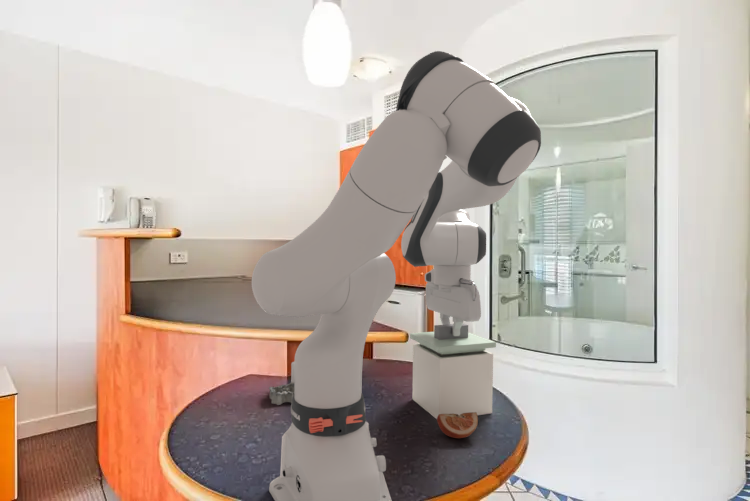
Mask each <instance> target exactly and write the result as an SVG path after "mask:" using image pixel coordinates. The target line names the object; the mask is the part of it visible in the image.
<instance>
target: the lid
mask: <svg viewBox="0 0 750 501" xmlns="http://www.w3.org/2000/svg"><path fill="white" fill-rule="evenodd" d="M453 324H454V323H450V324H448V325H442V324H435V325H433V326H434V330H433V331H423V332H410V333H409V338H410V339H412V340H413V341H414V342H417V343H418V344H422V345H424V346H426V347H428V348H430V349H432V350H434V351H436V352H438V353H440V354H442V355H443V354H453V353H464V352H474V351H485V350H486V349H493V348H495V349H496V348H497V342H496V341H494V340H491V339H489V338H485V337H483V336H480V335H477V334H475V333H472V332H469V324H465V323H463V324H462V326H461V328H460V335H459V336H453V335H451V328H452V327H453Z"/></svg>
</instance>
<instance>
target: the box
mask: <svg viewBox="0 0 750 501" xmlns="http://www.w3.org/2000/svg"><path fill="white" fill-rule="evenodd" d="M493 375H494V353H493V352H490V351H488V350H486V349H485V351H474V352H464V353H453V354H443V355H442V354H440V353H438V352H436V351H434V350H432V349H430V348H428V347H426V346H424V345H422V344H420V343H412V398H411V399H412V400H413V402H415V403H416V404H418V405H419V406H420V408H422V409H424V410H425V411H426V412H427V413H429V414H430V415H431V416H432V417H433V418H435V419H436V420H437V417H438V415H439V414H453V413H454V414H458V415H460V414H463V413H470V412H477V416H481V415H489V414H493V389H494V387H493V384H494V376H493Z"/></svg>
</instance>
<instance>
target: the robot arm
mask: <svg viewBox="0 0 750 501" xmlns="http://www.w3.org/2000/svg"><path fill="white" fill-rule="evenodd" d="M396 103H397V104H396V110H395V111H393V112H391V113H389V114H388V115H387V116H386V117H385V118H384V119H383V120H382V121H381V123H380V124H379V125H378V126H377V128H375V130H374V131H373V133H372V134H371V136H370V137H369V138H368V139H367V141H366V143H364V145H363V147H362V148H361V150H360V151H359V153H358V154H357V156H356V158H355V159H354V161H353V163H352V165H351V167H350V169H349V170H348V172H347V174H346V175H345V178H344V180H343V182H342V183H341V185H340V186H339V188H338V190H337V192H336V193H335V195H334V197H333V199H332V200H331V201H330V203H329V204H328V206H327V208H326V209H325V210H324V212H323V213H322V214H321V215H320V216H319V217H318V218H317V219H316V220H314V222H313V223H311V224H310V225H309V226H308V227H307V228H306V229H304V230H303V231H302V232H301V233H299V234H298V235H296V237H294V238H293V239H291V240H290V241H287V243H285V244H283V245H281V246H279V247H276V248H274V249H271V250H269V251H266V252H265V253H263V254H262V255H261V257H259V259H258V261H257V262H256V264H255V266H254V268H253V271H252V275H251V290H252V294H253V297H254V299H255V301H256V303H257V305H259V307H260V309H261V310H263V311H264V312H265V313H266V314H268V315H270V316H278V317H279V316H280V317H289V318H305V317H311V316H319V315H320V318H319V321H318V323H317V325H316V327H315V328H314V330H313V331H312V332H311V334H309V335H308V336H307V337H305V338H304V339H303V340H302V341H301V342H300V344H299V345H298V346H297V349H296V351H295V354H294V361H295V380H294V396H293V397H292V403H290V404H291V405H290V416H291V417H290V420H291V424H290V426H289V428H288V429H287V430H286V431H285V432H284V433H283V435H282V437H281V448H280V449H281V450H280V469H279V470H280V471H279V474H280V475H279V476H277V477H276V478H274V479H273V480H271V482H270V483H269V488H268V491H269V493H270V495H271V497H272V498H273V500H274V501H393V500H392V497H391V494H390V491H389V487H388V485H387V481H386V479H385V475H384V472H386V470H387V461H386V456H385V455H383V454H382V455H376V454H375V449H374V448H376V447H377V445H378V444H377V438H376V437H372V436H371V433H370V428H369V427H370V426H369V425H370V424H369V422H368V421H367V417H366V410H367V409H366V404H365V397H364V396H365V395H364V394H363V393H362V382H363V381H362V379H363V360H364V358H363V357H364V351H365V345H366V341H367V338H368V337H367V336H368V334H369V331H370V328H371V325H372V323H373V321H374V319H375V317H376V315H377V313H378V312H379V310H380V309H381V307H382V306H383V305H384V303H386V301H388V300H389V299H390V297H391V295H392V294H393V292H394V290H395V286H396V279H397V276H396V270H395V266H394V264H393V261H392V259H391V258H390V257H389V256H388V255H387V254H386V253H387V252H388V251H389V250H391V248H392V247H393V246H394V245H395V243H396V242H397V240H398V239H399V237H400V236H401V234H402V237H401V243H400V246H401V247H400V248H401V254H402V257H403V258H404V260H405V261H407V262H408V263H409V264H410V265H411V266H412V267H415V268H416V267H428V266H433V268H432V269H431V270H430V271H428V272H426V273H425V274H424V281H425V282H426V284H425V305H426V307H427V309H428V310H430V311H431V312H432V311H433V312H437V313H439V318H440V322H441V325H448V324H451V321H450V318H452V322H453V323H452V324H453V327H452V328H451V335H453V336H459V335H460V328H461V326H462V324H464V322H466V323H470V322H471V323H472V322H479V321H480V319H481V316H482V308H481V307H482V306H481V295H480V292H479V290H478V287H477V285H476V284H475V281H474V280H472V279H471V274H472V273H471V269H472V268H471V267H472V265H477V264H478V263H479V262H481V261H482V260H483V259H484V258H485V256H486V255H487V233H486V231H485V230H484V229H483V227H481V226H480V225H479V224H478V223H473V222H472V221H471V220H470V214H469V212H468V211H467V209H472V208H473V209H474V208H481V207H485V206H488V205H489V206H490V205H492V204H495V203H497V202H498V201H500V200H501V199H503V198H504V197H505V196H506V195H507V194H508V193H509V191H510V190H511V189H512V188H513V187H514V184H515V183H516V180H517V178H519V177H520V176H521V175H522V174H523V173H524V172H526V170H527V169H528V168H529V166H531V164H532V163H533V162H534V160H535V159H536V157H537V156H538V153H539V151H540V150H541V145H542V134H541V128H540V126H539V124H538V123H537V121H536V120H535V118H533V117H532V115H531V113H530V110H529V109H528V107H527V106H526V105H525V104H524V103H522V102H521V101H520V100H518V99H516V98H513V97H510V96H508V95H507V94H506V93H505V92H504V91H503V90H502V89H501V88H499V87H498V86H497V84H496V83H495V82H494V80H491V78H489V77H488V76H486V74H485V75H484V74H483V73H481V72H480V71H478V70H477V69H476V68H474V67H472V66H471V65H468V64H467V63H465V61H464V60H463V59H462V58H460V57H459V56H457V55H455V54H451V53H448V52H445V51H440V50H437V51H436V50H435V51H432V52H429V53H428V54H426V55H424V56H422V57H421V58H419V59H418V60H417V61H415V63H414V64H413V65H412V66H411V67H410V69H409V70H408V72H407V74H406V75H405V77H404V79H403V81H402V84H401V87H400V90H399V95H398V98H397V102H396ZM447 158H449V159H450V160H451V161H450V162H449V163H448V165H447V166H446V167H444V169H442V170H441V171H440V169H441V167H442V165H443V163H444V161H445V160H446V159H447Z"/></svg>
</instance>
